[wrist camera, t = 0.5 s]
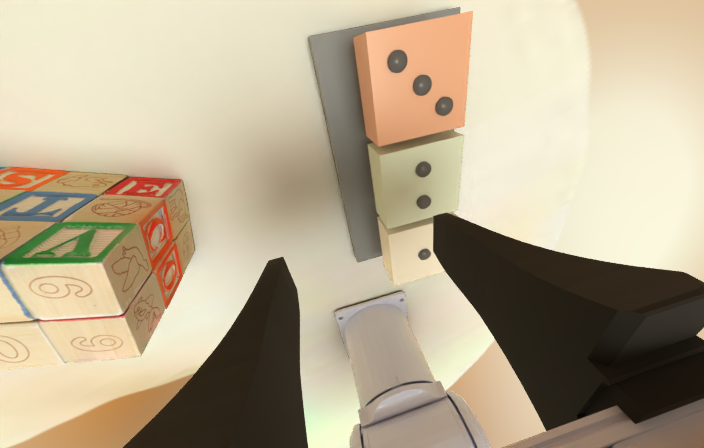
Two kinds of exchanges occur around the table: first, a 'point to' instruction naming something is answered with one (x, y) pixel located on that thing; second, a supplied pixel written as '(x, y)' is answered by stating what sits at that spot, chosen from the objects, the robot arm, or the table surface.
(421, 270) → the tile one
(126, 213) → the stack of blocks
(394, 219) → the tile two
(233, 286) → the table surface
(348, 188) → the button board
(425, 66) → the tile three
